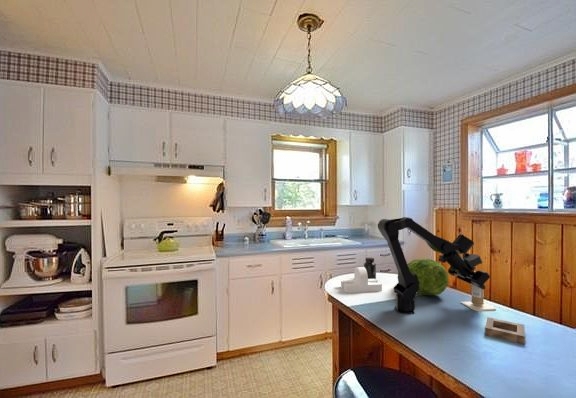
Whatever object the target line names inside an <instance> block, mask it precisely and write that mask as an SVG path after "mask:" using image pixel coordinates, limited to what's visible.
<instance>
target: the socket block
mask: <svg viewBox="0 0 576 398" xmlns="http://www.w3.org/2000/svg"><path fill="white" fill-rule="evenodd" d="M525 329H526V327H525V324H521V323H519V322H518V323H517V322H513V321H507V320H503V319H498V318H493V317H487V318H486V322H485V326H484V336H489V337H493V338H497V339H499V340H500V339H501V340H505V341H509V342H515V343H517V344H523V345H525V344H526V333H525V331H526V330H525Z"/></svg>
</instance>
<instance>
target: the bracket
mask: <svg viewBox="0 0 576 398" xmlns="http://www.w3.org/2000/svg"><path fill="white" fill-rule="evenodd" d="M353 275H354V279H351V278H350V279H341V280H340V288H341V287H342V288H341V289H343V292H345V293H351V294H352V292H354V293H373V292H374V291H381V292H383V283H381V282H379V281H378V279H377V278H376V279H368V275H367V271H366V269H365V267H364V266H359V267H358V266H356V267H355V268H354V274H353Z"/></svg>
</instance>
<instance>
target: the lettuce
mask: <svg viewBox="0 0 576 398" xmlns="http://www.w3.org/2000/svg"><path fill="white" fill-rule="evenodd" d="M407 265H408V267H409V270H410V271H411V272H413V273H415V274H417V277H418V281H419V282H420V284H419V286H420V288H419V290H418V292H417V294H419V295H422V296H427V297H429V296H437V295H441V294H442V293H444V292H445V290H446V288H447V287H448V284H449V275H448V274H449V273H448V271H447V269H446V268H445V267H444V266H443V265H442V263H440V262H439V261H436V260H433V259H431V258H418V259H413V260H411V261H410V262H407Z"/></svg>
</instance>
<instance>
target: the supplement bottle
mask: <svg viewBox="0 0 576 398" xmlns="http://www.w3.org/2000/svg"><path fill="white" fill-rule="evenodd" d="M363 267H365V269H366V271H367V275H368V279H376V280H377V264H376V262H375V258H374V257H365V262H364V263H363Z"/></svg>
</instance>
